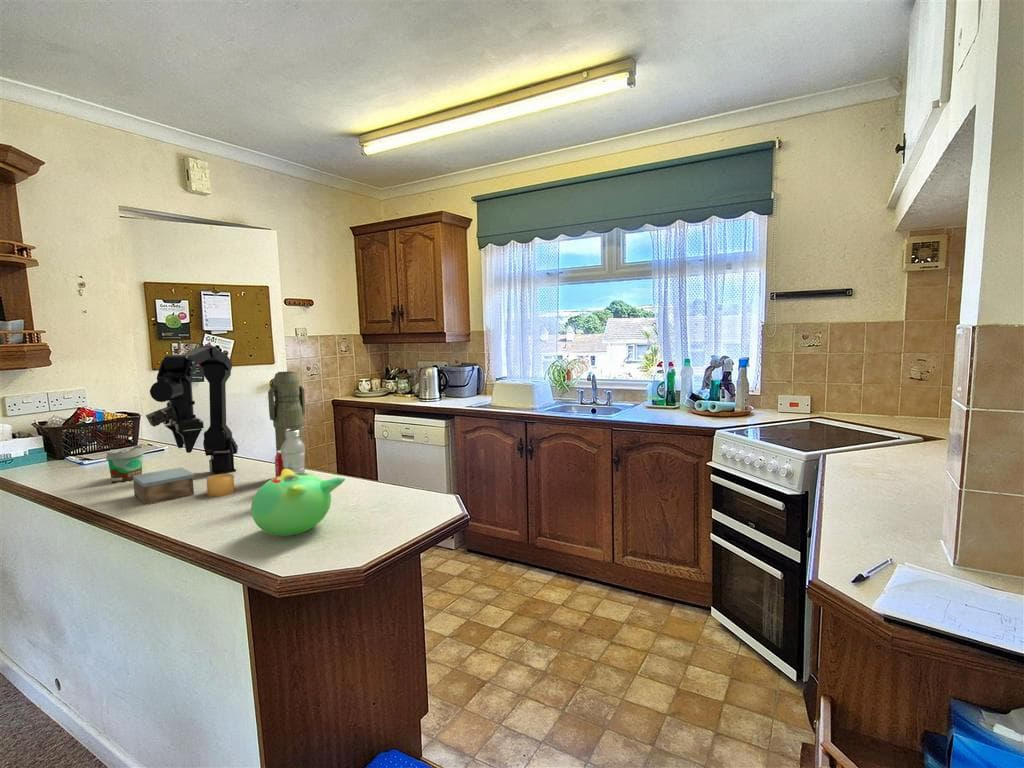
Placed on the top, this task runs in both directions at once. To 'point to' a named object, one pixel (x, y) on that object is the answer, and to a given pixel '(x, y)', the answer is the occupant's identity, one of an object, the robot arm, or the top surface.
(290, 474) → the green toy creature
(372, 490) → the top surface
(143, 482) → the lid
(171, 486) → the walnut box
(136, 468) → the food container
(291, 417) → the headless coat mannequin
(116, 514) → the top surface
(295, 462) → the plastic bottle
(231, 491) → the short orange cylinder
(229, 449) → the robot arm
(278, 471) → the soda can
